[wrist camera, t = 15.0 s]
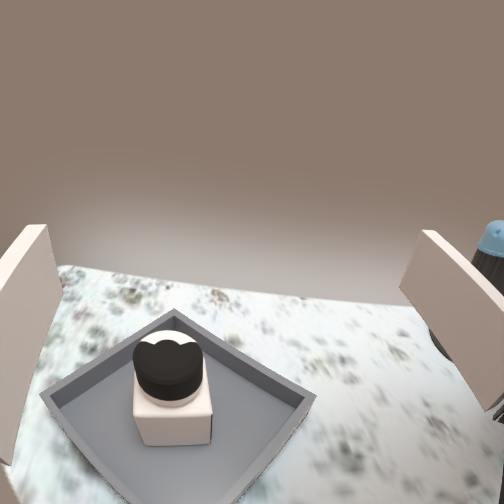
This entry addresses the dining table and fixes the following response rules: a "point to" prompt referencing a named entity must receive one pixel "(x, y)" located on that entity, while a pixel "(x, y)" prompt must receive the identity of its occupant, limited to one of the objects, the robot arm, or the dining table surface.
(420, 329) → the dining table surface
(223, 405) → the box
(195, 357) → the medicine bottle
